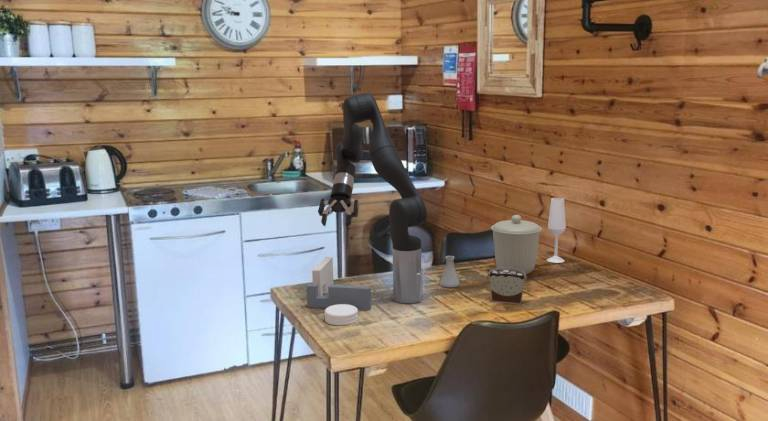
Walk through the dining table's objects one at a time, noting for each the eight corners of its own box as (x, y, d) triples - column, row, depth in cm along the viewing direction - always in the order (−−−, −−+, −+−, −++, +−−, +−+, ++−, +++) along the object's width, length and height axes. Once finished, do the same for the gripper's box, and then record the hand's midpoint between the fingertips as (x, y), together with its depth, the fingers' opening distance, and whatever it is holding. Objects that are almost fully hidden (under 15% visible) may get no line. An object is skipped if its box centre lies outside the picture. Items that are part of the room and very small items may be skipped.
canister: (503, 262, 269) (504, 208, 265) (548, 269, 258) (550, 213, 254) (481, 273, 254) (482, 216, 250) (527, 281, 244) (529, 222, 240)
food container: (528, 298, 227) (529, 268, 225) (525, 304, 221) (526, 274, 219) (490, 295, 231) (490, 265, 229) (487, 301, 225) (487, 271, 223)
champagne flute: (565, 258, 272) (567, 197, 267) (563, 263, 266) (565, 200, 261) (548, 257, 274) (549, 196, 269) (545, 261, 268) (547, 200, 263)
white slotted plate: (326, 284, 245) (325, 257, 243) (333, 285, 244) (332, 257, 242) (313, 299, 229) (312, 270, 227) (320, 300, 229) (319, 270, 227)
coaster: (360, 324, 207) (360, 313, 207) (327, 327, 205) (326, 316, 205) (355, 313, 217) (354, 302, 216) (322, 316, 215) (322, 305, 214)
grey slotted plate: (371, 307, 221) (370, 286, 219) (369, 310, 218) (368, 288, 217) (309, 304, 225) (308, 283, 223) (307, 307, 222) (306, 286, 221)
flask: (436, 287, 240) (436, 258, 238) (442, 280, 247) (442, 253, 245) (456, 289, 238) (457, 260, 236) (462, 283, 244) (463, 255, 242)
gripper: (321, 181, 257) (313, 219, 249) (359, 182, 254) (353, 220, 246) (326, 193, 263) (318, 230, 255) (363, 194, 261) (356, 231, 252)
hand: (335, 225), depth 250 cm, fingers open, 8 cm apart
